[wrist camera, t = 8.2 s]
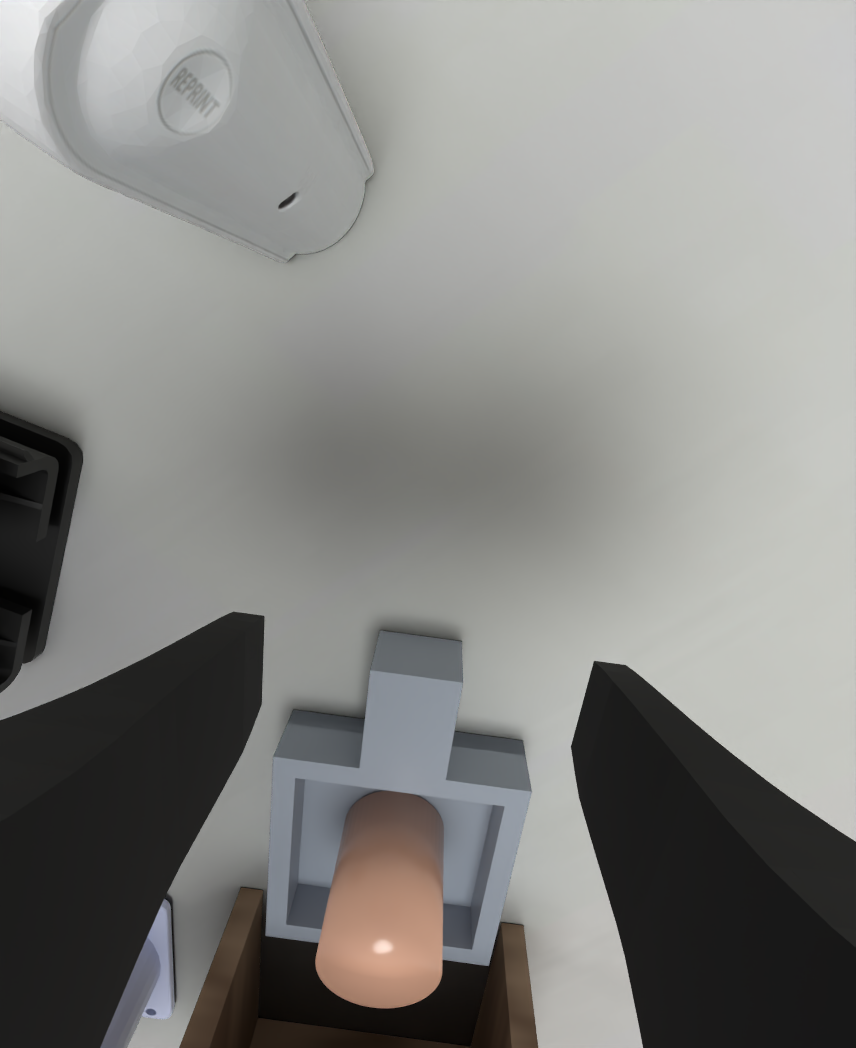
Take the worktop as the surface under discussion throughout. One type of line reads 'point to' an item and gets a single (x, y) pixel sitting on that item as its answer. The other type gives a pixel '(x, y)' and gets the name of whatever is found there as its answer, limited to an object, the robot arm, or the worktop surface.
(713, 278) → the worktop surface
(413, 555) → the worktop surface
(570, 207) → the worktop surface
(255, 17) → the photo printer
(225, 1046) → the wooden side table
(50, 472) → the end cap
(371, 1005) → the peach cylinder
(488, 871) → the tray
